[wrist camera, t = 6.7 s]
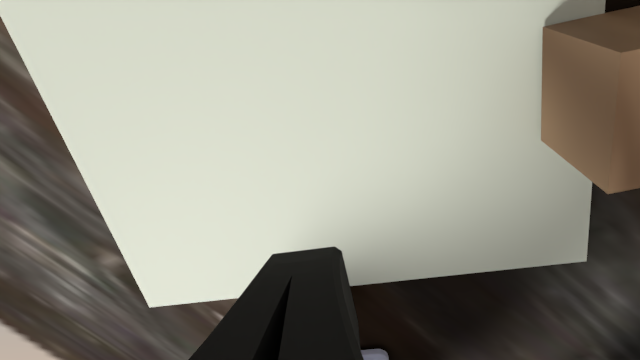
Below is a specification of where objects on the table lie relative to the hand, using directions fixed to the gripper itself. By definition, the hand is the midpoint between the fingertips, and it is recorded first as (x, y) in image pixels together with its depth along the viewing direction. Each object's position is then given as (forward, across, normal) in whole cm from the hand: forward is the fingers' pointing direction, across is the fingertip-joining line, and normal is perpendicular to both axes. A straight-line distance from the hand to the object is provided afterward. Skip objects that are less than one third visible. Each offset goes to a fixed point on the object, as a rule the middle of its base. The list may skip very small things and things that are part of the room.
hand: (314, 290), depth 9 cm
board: (+10, +1, 0) cm, 10 cm away
